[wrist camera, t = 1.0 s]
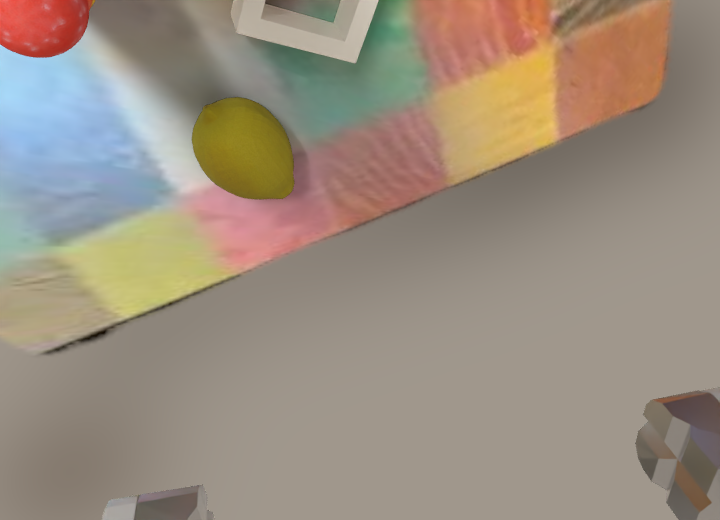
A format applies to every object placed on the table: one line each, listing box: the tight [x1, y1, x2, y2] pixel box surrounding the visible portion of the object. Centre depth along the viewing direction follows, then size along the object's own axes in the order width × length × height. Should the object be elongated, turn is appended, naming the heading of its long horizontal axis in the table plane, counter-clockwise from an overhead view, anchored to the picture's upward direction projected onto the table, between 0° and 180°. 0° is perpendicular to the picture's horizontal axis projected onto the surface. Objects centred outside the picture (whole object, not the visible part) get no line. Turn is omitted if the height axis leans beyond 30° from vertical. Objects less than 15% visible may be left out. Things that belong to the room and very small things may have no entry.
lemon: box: [192, 97, 294, 199], centre depth 51 cm, size 11×8×8 cm
